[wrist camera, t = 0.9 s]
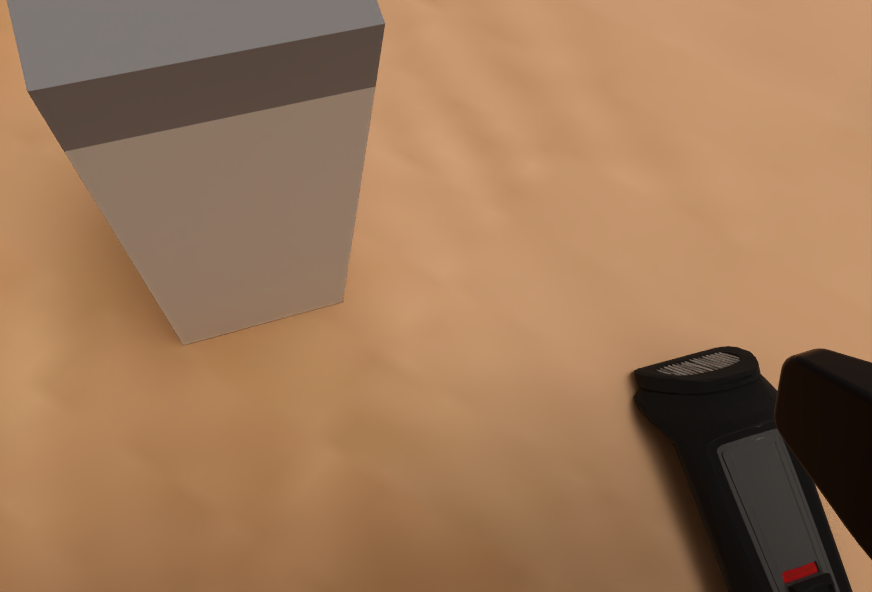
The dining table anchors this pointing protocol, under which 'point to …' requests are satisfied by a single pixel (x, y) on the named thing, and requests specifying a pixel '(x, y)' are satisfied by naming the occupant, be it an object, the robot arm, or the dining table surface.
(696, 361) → the electric trimmer
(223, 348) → the dining table surface
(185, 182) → the grey rectangular block
